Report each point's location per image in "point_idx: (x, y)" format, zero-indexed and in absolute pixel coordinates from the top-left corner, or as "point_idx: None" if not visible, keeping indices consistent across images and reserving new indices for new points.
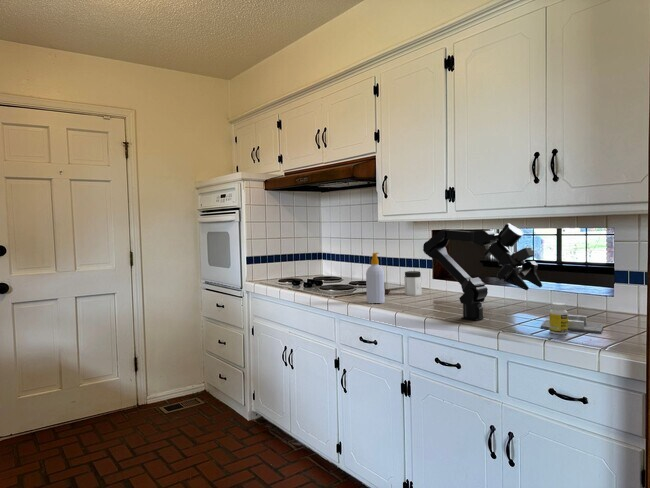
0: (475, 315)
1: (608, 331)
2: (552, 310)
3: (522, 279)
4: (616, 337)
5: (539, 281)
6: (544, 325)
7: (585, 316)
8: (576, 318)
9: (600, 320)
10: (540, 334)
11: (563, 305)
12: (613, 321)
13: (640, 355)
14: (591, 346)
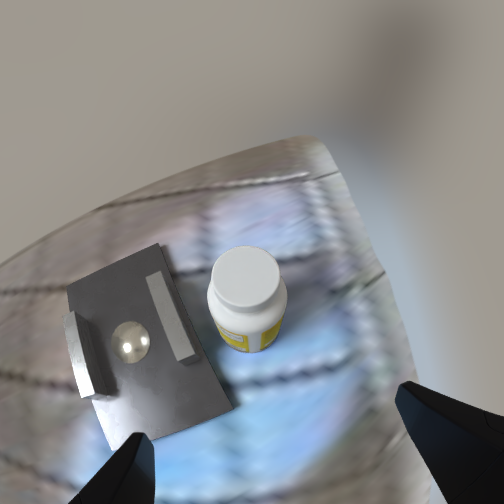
0: None
1: (117, 251)
2: (279, 301)
3: (469, 428)
4: (174, 209)
5: (127, 463)
6: (213, 404)
7: (68, 315)
8: (84, 342)
9: (12, 330)
10: (322, 343)
11: (251, 248)
12: (10, 302)
13: (287, 138)
14: (310, 196)
